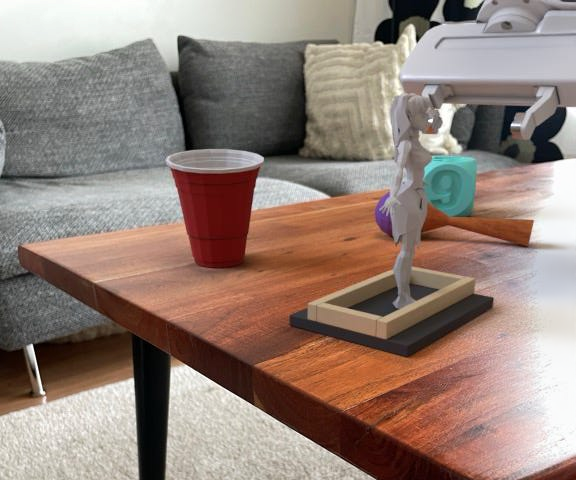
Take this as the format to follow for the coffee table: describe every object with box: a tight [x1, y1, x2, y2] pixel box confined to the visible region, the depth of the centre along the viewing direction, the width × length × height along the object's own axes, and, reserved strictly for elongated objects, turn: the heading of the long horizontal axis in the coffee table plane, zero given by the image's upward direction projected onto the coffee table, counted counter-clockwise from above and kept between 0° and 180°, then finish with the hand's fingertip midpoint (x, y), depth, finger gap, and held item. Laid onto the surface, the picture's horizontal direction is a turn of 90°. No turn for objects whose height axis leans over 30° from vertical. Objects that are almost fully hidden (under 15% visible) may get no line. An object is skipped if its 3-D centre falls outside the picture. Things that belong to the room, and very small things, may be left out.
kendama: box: [374, 191, 535, 247], centre depth 93 cm, size 6×6×20 cm
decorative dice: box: [422, 155, 478, 217], centre depth 108 cm, size 8×8×8 cm
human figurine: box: [380, 92, 433, 309], centre depth 62 cm, size 12×4×18 cm, turn 158°
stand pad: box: [289, 266, 495, 358], centre depth 66 cm, size 12×16×2 cm
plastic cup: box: [164, 148, 265, 268], centre depth 81 cm, size 11×11×12 cm
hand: (471, 132), depth 68 cm, fingers open, 8 cm apart
